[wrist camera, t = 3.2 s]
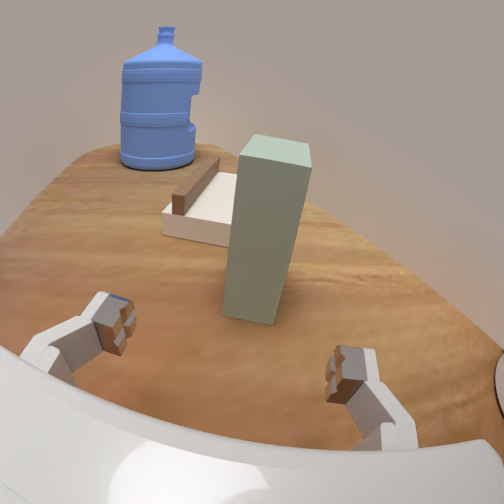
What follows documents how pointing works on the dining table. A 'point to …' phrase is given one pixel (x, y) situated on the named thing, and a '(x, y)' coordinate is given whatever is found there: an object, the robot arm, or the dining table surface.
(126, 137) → the water jug
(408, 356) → the dining table surface
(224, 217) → the cleat board
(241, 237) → the sage cabinet
